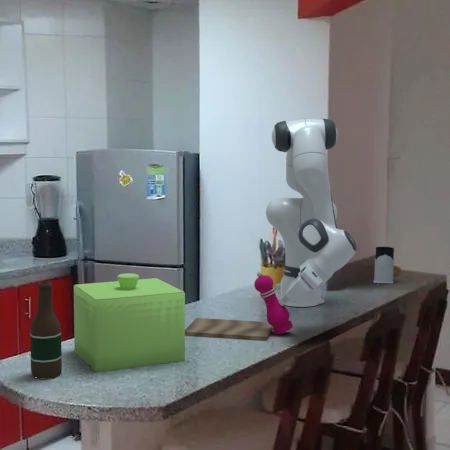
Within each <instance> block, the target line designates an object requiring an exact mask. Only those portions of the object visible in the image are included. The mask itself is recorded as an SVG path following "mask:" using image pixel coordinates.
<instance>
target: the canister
mask: <svg viewBox="0 0 450 450" xmlns="http://www.w3.org/2000/svg"><path fill="white" fill-rule="evenodd" d="M116 278H117V280H116V281H104V282H92V283H91V282H90V283H80V284H74V285H73V326H74V327H73V328H74V329H73V330H74V332H73V334H74V336H73V337H74V342H73V343H74V352H75V351H76V352H77V353H78V354H79V355H80V356H81V357H82V358H83V359H84V360H85V361H86V362H87V363H88V364H89V365H90V366H91V367H92V368H93V369H94V370H93V369H92V368H91V367H90V366H89V365H88V364H87V363H86V362H85V361H84V360H83V359H82V358H81V357H80V356H79V355H78V354H77V353H76V352H75V353H76V354H77V355H78V356H79V357H80V358H81V359H82V360H83V361H84V362H85V363H86V364H87V365H88V366H89V367H90V368H91V369H92V370H93V371H94V372H95V373H101V372H100V371H103V372H109V371H108V370H110V371H116V370H117V369H118V370H123V368H125V369H132V367H133V368H139V367H146V366H154V365H161V364H162V365H163V364H168V363H176V362H183V361H184V362H185V361H186V360H185V359H186V347H185V346H186V343H185V342H186V336H185V329H186V293H185V291H184V290H181V289H180V288H177V287H175V286H173V285H172V284H169V283H167V282H165V281H163V280H161V279H159V278H157V277H154V278H153V277H152V278H140V275H139V274H136V273H131V272H130V273H128V272H127V273H120V274H118V275H117V276H116ZM118 370H117V371H118Z"/></svg>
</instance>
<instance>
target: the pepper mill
mask: <svg viewBox="0 0 450 450" xmlns="http://www.w3.org/2000/svg"><path fill="white" fill-rule="evenodd" d="M256 276H257V278H256V279H255V280H254V283H253V285H254V289H255V290H256V292H258V293H259V295H260V298H261V299H263V301H264V304H265V308H266V320H267V321H266V322H268V323H269V324H270V325H272V326H273V327H274V328H273V330H272V332H274V334H275V335H280V334H283V333H286V332H288V331H289V330H291V329H292V328H293V327H294V325H293V322H292V321H291V320H290V316H291V314H290V312H289V310H288V309H287V307H286V306H285V305H283V306H281V305H280V304H279V300H278V299H277V297H276V294H275V293H277V292H276V290H275V288H276V287H274V280H273V278H272V277H271V276H270V275H269V274H268V275H267V274H264V275H263V272H262V271H258V272H257V273H256Z"/></svg>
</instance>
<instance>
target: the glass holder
mask: <svg viewBox="0 0 450 450" xmlns="http://www.w3.org/2000/svg"><path fill="white" fill-rule="evenodd" d="M394 253H395V248H394V247H391V246H376V247H375V255H374V256H375V258H374V275H373V276H374V277H373V278H374V279H373V281H372V283H373V282H374V283H393V282H394V266H395V265H394V263H395V258H394V257H395V256H394ZM374 283H373V284H374Z"/></svg>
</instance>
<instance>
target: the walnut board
mask: <svg viewBox="0 0 450 450" xmlns="http://www.w3.org/2000/svg"><path fill="white" fill-rule="evenodd" d="M273 328H274V327H273V326H272V325H270V324H269V323H268V321H257V320H240V319H239V320H238V319H222V318H206V317H205V318H204V317H203V318H202V317H195V319H194V320H193V321H192V322H191V323H190V324H189V325H188V326H187V327H185V337H187V336H188V337H202V338H203V337H204V338H219V339H235V340H249V341H250V340H251V341H252V340H253V341H268V339H269V338H270V336H271V333H272V332H273Z"/></svg>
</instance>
